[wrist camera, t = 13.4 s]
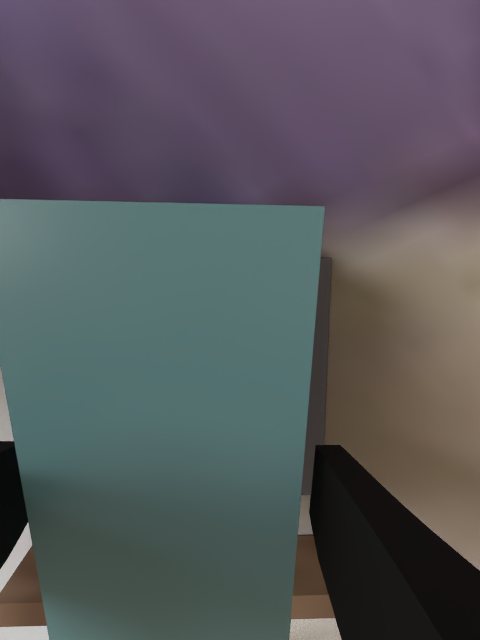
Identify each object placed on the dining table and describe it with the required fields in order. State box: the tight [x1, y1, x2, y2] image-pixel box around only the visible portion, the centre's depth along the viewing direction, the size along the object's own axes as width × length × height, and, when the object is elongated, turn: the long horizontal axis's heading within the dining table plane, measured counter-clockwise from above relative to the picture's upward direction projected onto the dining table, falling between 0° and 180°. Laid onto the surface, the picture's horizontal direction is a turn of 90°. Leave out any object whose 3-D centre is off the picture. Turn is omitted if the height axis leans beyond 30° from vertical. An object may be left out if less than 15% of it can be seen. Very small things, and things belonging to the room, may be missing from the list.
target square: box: [301, 258, 332, 495], centre depth 13 cm, size 10×10×1 cm
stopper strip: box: [0, 535, 335, 627], centre depth 13 cm, size 16×1×2 cm, turn 92°
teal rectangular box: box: [0, 199, 325, 640], centre depth 9 cm, size 6×10×6 cm, turn 179°
